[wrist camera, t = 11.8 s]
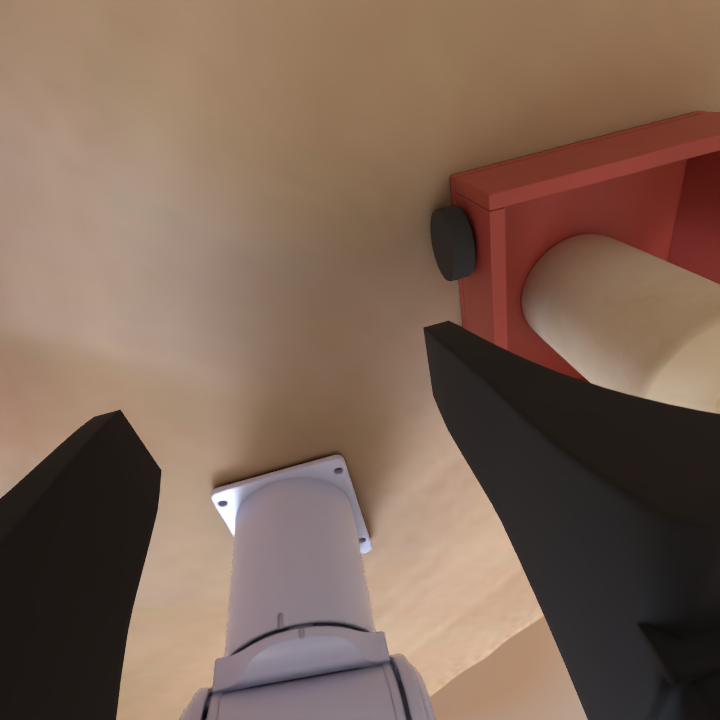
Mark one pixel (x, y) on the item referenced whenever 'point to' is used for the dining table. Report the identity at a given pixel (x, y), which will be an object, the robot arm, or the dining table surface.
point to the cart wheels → (452, 243)
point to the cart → (588, 216)
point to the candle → (628, 320)
